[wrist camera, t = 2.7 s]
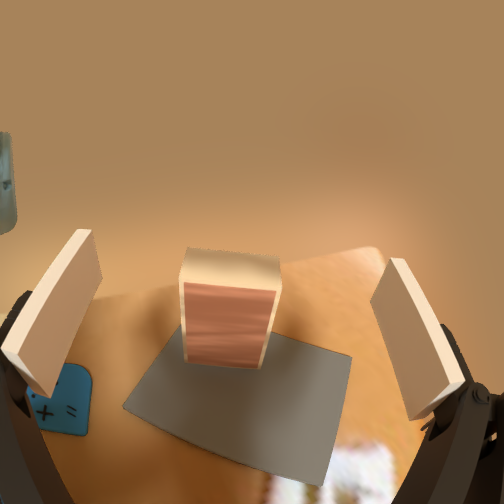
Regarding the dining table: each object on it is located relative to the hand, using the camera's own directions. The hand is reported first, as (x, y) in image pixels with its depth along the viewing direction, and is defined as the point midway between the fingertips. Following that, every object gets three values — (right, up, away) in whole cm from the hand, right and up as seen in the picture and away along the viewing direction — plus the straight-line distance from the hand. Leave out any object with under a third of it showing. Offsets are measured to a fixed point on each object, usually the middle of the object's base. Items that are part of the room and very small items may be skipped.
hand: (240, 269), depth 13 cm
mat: (0, -13, +16) cm, 21 cm away
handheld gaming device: (-23, -15, +11) cm, 29 cm away
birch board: (-3, -10, +19) cm, 22 cm away
